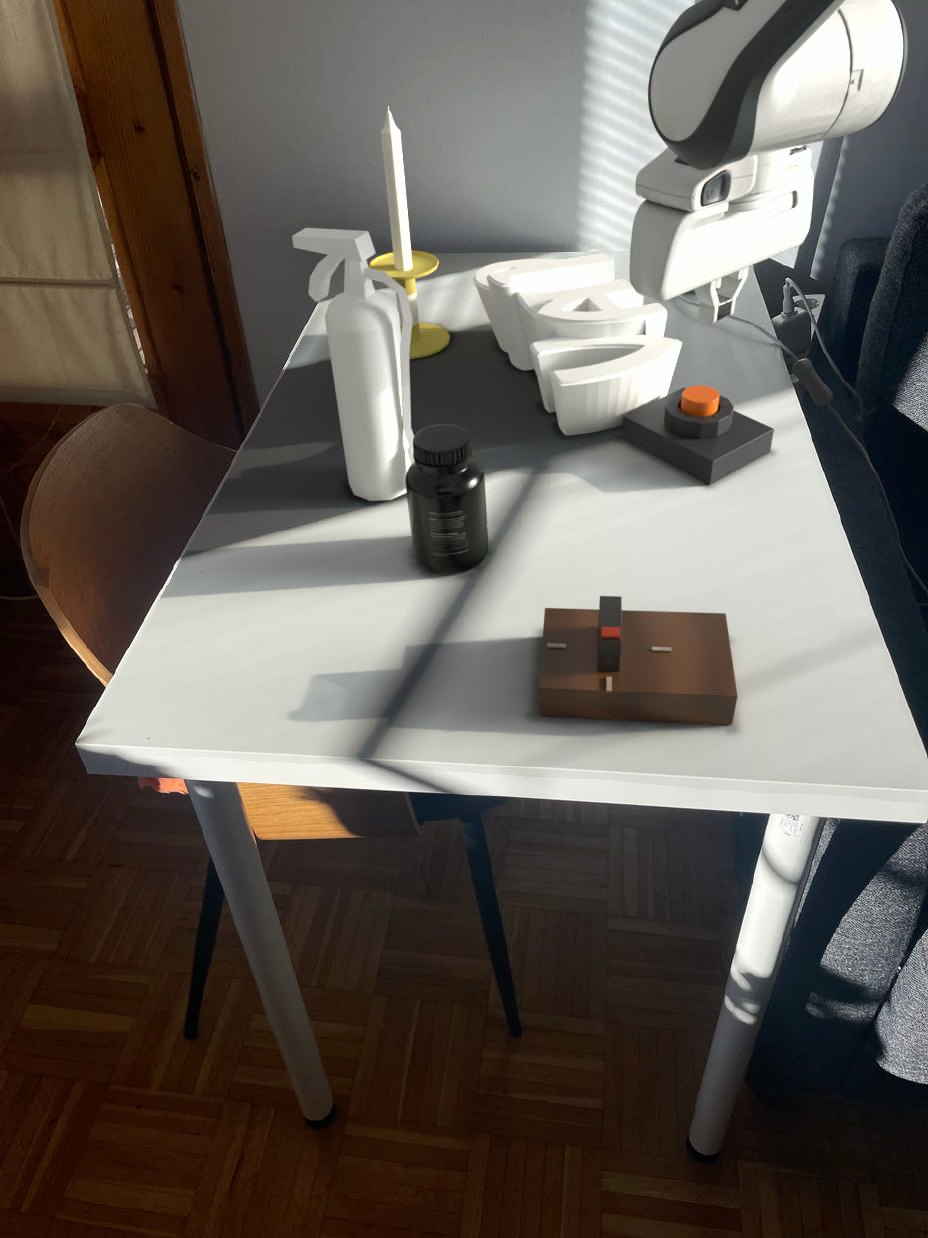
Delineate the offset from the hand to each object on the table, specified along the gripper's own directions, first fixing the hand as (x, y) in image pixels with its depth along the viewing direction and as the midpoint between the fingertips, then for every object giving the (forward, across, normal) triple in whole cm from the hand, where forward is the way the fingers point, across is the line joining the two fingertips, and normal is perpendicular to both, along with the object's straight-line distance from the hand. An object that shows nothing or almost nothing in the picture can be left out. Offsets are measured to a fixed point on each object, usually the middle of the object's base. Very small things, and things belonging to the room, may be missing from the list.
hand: (715, 317), depth 89 cm
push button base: (+14, 0, -1) cm, 14 cm away
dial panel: (+14, +29, +19) cm, 38 cm away
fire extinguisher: (+14, +28, -16) cm, 35 cm away
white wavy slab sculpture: (+14, -1, -21) cm, 25 cm away
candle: (+14, +7, -42) cm, 44 cm away
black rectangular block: (+11, +31, +18) cm, 37 cm away
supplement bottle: (+14, +30, -3) cm, 33 cm away
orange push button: (+10, 0, -1) cm, 10 cm away
